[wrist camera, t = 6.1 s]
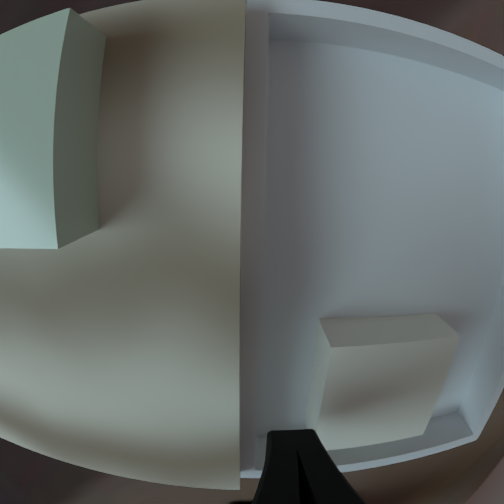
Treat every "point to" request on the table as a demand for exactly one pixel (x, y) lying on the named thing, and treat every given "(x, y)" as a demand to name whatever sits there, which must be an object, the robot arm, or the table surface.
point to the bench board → (143, 265)
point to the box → (367, 209)
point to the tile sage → (49, 131)
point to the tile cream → (377, 377)
